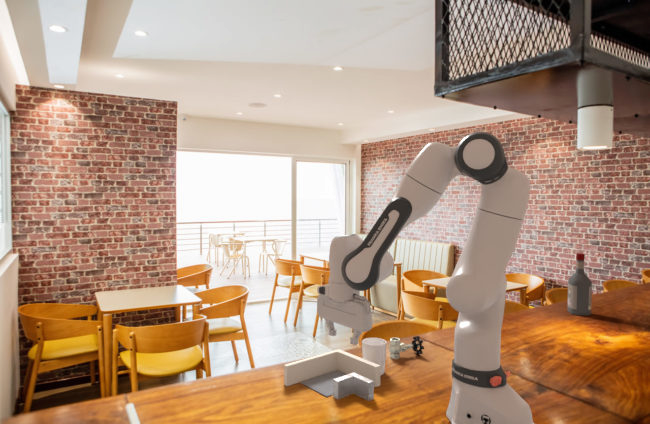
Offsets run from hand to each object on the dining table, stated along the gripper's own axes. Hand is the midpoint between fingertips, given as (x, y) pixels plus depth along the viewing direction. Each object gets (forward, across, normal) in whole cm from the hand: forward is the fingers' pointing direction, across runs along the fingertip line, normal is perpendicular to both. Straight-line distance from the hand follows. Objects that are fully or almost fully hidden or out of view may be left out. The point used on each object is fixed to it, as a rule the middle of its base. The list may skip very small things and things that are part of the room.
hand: (343, 339), depth 123 cm
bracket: (+16, -4, -1) cm, 16 cm away
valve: (+16, +10, -38) cm, 42 cm away
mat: (+16, +7, -2) cm, 17 cm away
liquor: (+15, -3, -155) cm, 156 cm away
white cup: (+16, +6, -18) cm, 25 cm away
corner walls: (+16, +6, -1) cm, 17 cm away
